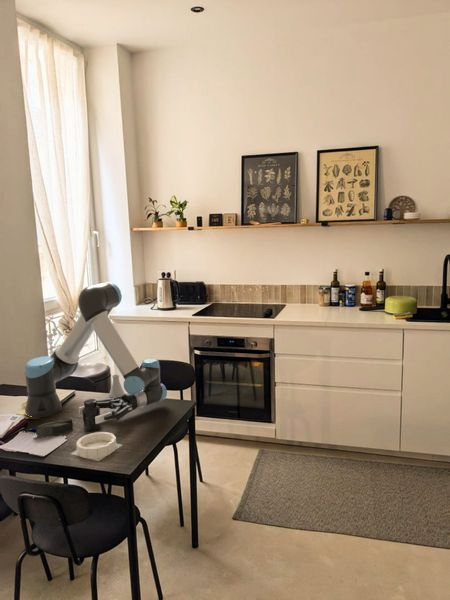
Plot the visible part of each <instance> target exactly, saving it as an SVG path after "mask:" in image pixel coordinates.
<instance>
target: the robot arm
mask: <svg viewBox="0 0 450 600" xmlns="http://www.w3.org/2000/svg"><path fill="white" fill-rule="evenodd" d="M122 296H123V295H122V292H121V290H120V288H119V286H118V285H116V283H113V282H110V281H107V282H106V281H103V282H101V283H97V284H93V285H92V284H91V285H88V286H86V287H84V288H83V289H82V290H81V291H80V292H79V295H78V299H77V301H78V308H79V312H80V315H79V317H78V319H77V321H76V322H75V323H74V325H73V327H72V328H71V330H70V332H69V333H68V335H67V337H66V338H65V339H64V341H63V343H62V344H61V345H59V346H56V347H55V349H54V351H53V352H52V354H51V355H50V356H47V355H46V356H43V355H42V356H39V357H35V358H34V357H33V358H32V359H30V360H29V361H27V362H26V364H25V365H24V370H25V371H24V376H25V381H26V392H27V400H26V405H25V408H24V414H25V413H26V414H27V415H29V416H32V417H35V418H45V417H50V416H53V415H56V414H57V413H59V412H61V411H62V408H63V406H62V405H63V404H62V402H61V400H60V398H59V396H58V394H57V391H56V390H57V388H56V383H57V382H60V381H62V380H63V379H65V378H68V377H70V376H72V375H73V374H74V373H75V372H76V371H77V369H78V368H79V361H80V354H81V351H82V350H83V349H84V347H85V345H86V344H87V342H88V341H89V339H90V338H91V335H93V333H95V334H96V336H97V337H98V339H99V341H100V342H101V343H102V346H103V347H104V349H105V350H106V352H107V353H108V355H109V356H110V358H111V360H112V361H113V364H114V365H115V367H117V369H118V371H119V373H120V374H121V375H122V377H123V379H124V381H123V390H124V392H126V393H125V394H124V395H123V396H122V397H120V399H119V398H116V397H114V398H112V397H110V398H104V399H103V398H102V399H96V402H97V406H98V407H99V408H100V409H110V410H111V412H110V411H109V412H105V413H102V414H100V415H99V416H96V417H95V423H96V424H98V423H101V424H102V423H104V422H107V421H109V420H116V421H118V420H120V419H122V418H123V417H124V416H126V415H127V414H130V412H133V411H135V410H137V409H140V410H141V409H142V408H143V407H147V406H150V405H153V404H155V403H159V402H161V401H163V400H165V399H166V398H167V396H168V390H167V388H166V386H165V384H163V383H162V382H161V365H160V361H159V360H158V359H156V358H146V359H143V360H142V362H141V367H140V366H139V364H137V361H136V360H135V358H134V356H133V355H132V353H131V351H130V350H129V348H128V346H127V345H126V344H125V342H124V341H123V339H122V336H120V334H119V331H117V329H116V327H115V326H114V324H113V323H112V321H111V319H110V318H109V315H110V313H111V311H112V310H113V308H116V307H118V306H119V305H120V303H121V301H122ZM83 408H84V405H83V406H79V407H78V415H82V410H83ZM26 414H25V415H26ZM32 417H31V418H32ZM35 418H34V419H35Z"/></svg>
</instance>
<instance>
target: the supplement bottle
mask: <svg viewBox="0 0 450 600" xmlns="http://www.w3.org/2000/svg"><path fill="white" fill-rule="evenodd" d="M96 400H97V399H94V398H89V399H88V398H87V399H86V400H84V401H83V406H84V408H83V410H82V414H81V415H82V421H83V431H84V432H86V433H96V432H99V431H100V430H102V422H101V423H98V424H96V423H95V417H96V416H99V415H101V408H99V407H98V406H97V402H96Z"/></svg>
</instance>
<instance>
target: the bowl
mask: <svg viewBox="0 0 450 600" xmlns="http://www.w3.org/2000/svg"><path fill="white" fill-rule="evenodd" d="M116 443H117V436H115V435H114V434H113V433H112V432H108V431H95V432H90V433H88V434H85V435H82V437H80V438H78V439H77V442H76V443H75V444H76V450H77V453H78V455H79V456H78V457H80V458H84V459H89V460H91V459H90V458H100V457H103V456H106V457H107V456H109V455H111V454H112V453H113V452H115V451H116V450H117V449H116ZM115 449H116V450H115Z"/></svg>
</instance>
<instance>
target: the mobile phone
mask: <svg viewBox="0 0 450 600" xmlns="http://www.w3.org/2000/svg"><path fill="white" fill-rule="evenodd" d="M73 425H74V424H73V419H71V418H70V419H69V418H68V419H64V420H58V421H51V422H45V423H42V424H39V425H37V427H36V428H35V430H36V431H35V433H36V436H35V437H33V438H32V439H33V440H36V439H41V438H47V437H46V436H48V437H51V436H56V435H61V434H65V433H67V432H71V431H73V430H74V426H73Z"/></svg>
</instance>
